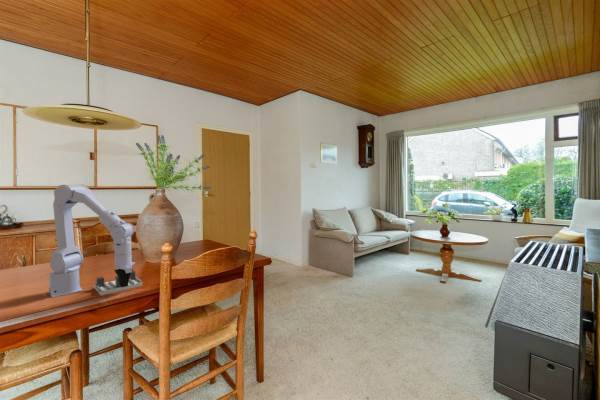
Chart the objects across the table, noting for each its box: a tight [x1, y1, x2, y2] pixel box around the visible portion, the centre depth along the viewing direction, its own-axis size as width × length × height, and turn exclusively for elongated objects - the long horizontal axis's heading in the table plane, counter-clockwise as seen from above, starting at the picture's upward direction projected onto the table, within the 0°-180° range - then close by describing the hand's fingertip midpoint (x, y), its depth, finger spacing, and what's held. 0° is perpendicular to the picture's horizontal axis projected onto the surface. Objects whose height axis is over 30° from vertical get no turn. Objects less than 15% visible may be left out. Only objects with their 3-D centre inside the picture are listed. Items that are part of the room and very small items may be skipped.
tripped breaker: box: [114, 275, 121, 287], centre depth 116 cm, size 3×3×4 cm
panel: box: [93, 269, 143, 297], centre depth 118 cm, size 15×12×5 cm
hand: (124, 286), depth 113 cm, fingers closed
